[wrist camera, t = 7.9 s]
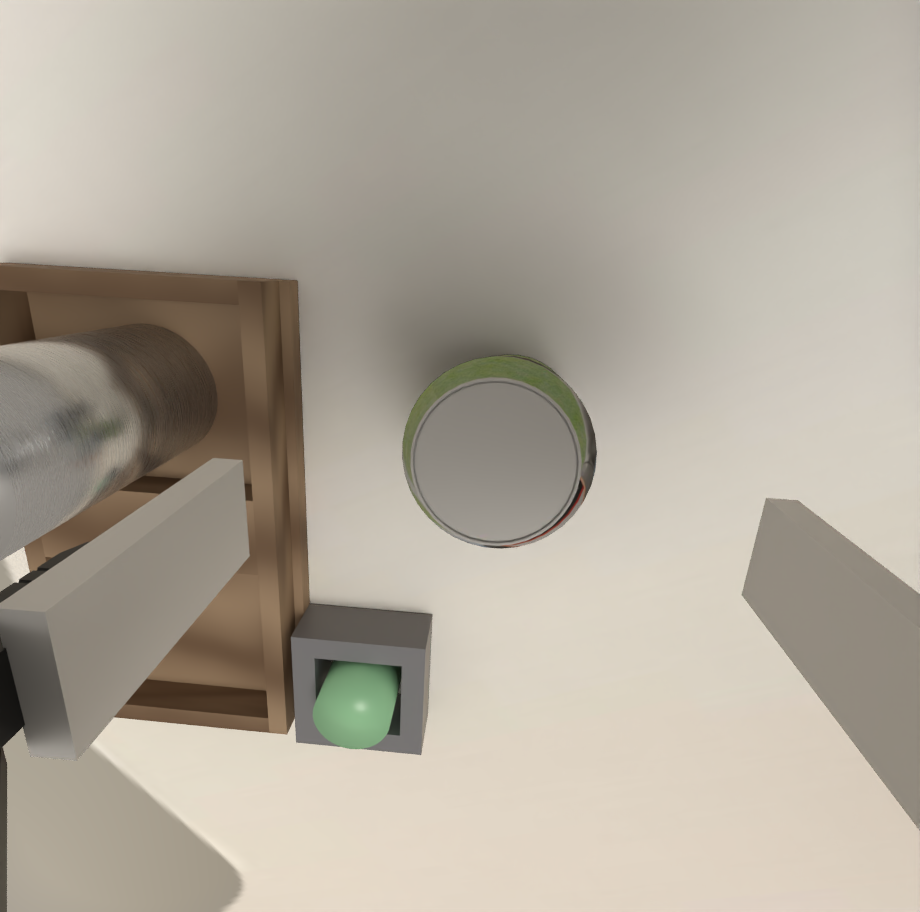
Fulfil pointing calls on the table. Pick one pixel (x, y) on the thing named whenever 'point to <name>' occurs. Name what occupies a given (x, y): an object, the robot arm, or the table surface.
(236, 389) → the wooden divided tray
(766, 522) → the robot arm
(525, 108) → the table surface
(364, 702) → the button
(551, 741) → the table surface
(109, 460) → the seated billet
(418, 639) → the button housing
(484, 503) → the beverage can
